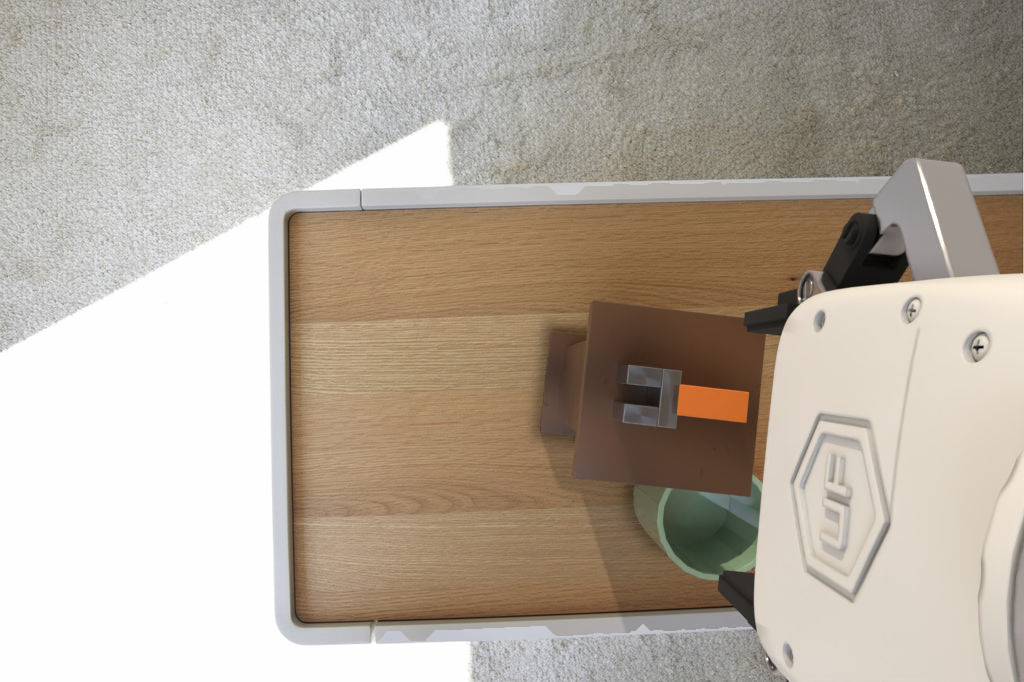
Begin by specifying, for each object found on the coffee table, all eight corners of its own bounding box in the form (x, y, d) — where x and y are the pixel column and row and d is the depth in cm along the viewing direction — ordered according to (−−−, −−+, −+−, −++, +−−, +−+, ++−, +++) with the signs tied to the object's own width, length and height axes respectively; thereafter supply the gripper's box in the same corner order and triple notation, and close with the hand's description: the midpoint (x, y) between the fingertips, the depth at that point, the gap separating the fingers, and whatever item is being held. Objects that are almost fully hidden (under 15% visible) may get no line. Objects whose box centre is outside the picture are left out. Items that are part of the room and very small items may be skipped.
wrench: (730, 378, 37) (751, 378, 34) (725, 431, 37) (745, 436, 34) (617, 365, 37) (628, 364, 34) (612, 418, 37) (622, 422, 34)
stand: (638, 442, 66) (750, 497, 37) (539, 430, 65) (573, 477, 36) (648, 342, 66) (767, 320, 37) (550, 331, 66) (592, 299, 37)
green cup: (727, 553, 65) (769, 586, 55) (628, 542, 65) (651, 573, 55) (736, 453, 66) (780, 467, 56) (638, 442, 66) (663, 454, 56)
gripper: (1124, -115, 8) (694, 215, 25) (1006, 1422, 7) (647, 676, 24) (1729, -38, 8) (888, 237, 25) (1672, 1479, 7) (847, 697, 24)
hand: (770, 453), depth 25 cm, fingers open, 9 cm apart
